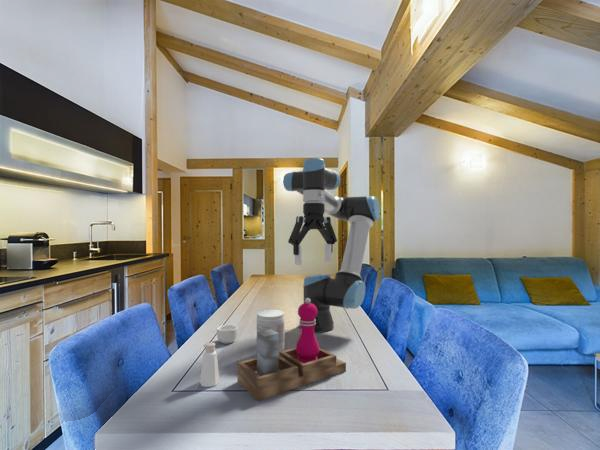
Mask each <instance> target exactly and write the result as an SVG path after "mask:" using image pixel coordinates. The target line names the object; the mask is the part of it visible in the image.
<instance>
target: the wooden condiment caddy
mask: <svg viewBox="0 0 600 450" xmlns="http://www.w3.org/2000/svg"><path fill="white" fill-rule="evenodd" d="M298 356H299V355H298V354H297V353H296V347H293V348H289V349H286V350H285V351H281V352H279V333H277V332H275V331H273V330H271V329H270V330H265V331H260V332H257V331H256V357H253V358H250V359H246V360H243V361H238V362H237V383H238V384H239V385H240V386H241V387H242V388H244V389H245V391H247V392H248V393H249V395H251V396H252V397H253V398H254V399H255V400H257V401H258V402H260V401H262V400H265V399H268V398H272V397H274V396H277V395H280V394H284V393H286V392H288V391H291V390H294V389H298V388H300V386H301V387H304V386H306V385H308V383H309V384H312V383H314V381H315V382H318V381H320V379H321V380H323V378H324V379H326V377H327V378H329V376H330V377H332V376H335V375H337V374H340V373H344V372H347V363H346V362H345V361H343V360H341V359H339V358H337V355H335V354H333V353H331V352H329V351H327V350H325V349H323V348H320V347H319V353H318V355H317V358H318V359H317V360H314V361H310V362H307V363H303V362H301V361H299V360H297V358H298ZM317 380H318V381H317ZM303 385H304V386H303ZM297 387H298V388H297Z"/></svg>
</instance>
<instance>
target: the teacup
mask: <svg viewBox="0 0 600 450" xmlns="http://www.w3.org/2000/svg"><path fill="white" fill-rule="evenodd" d="M216 337H217V340H218V341H219V342H220V343H221V344H227V345H228V344H232V343H233V342H235V340H237V338H238V326H237V325H235V324H224V325H219V326H218V327H217V328H216Z"/></svg>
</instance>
